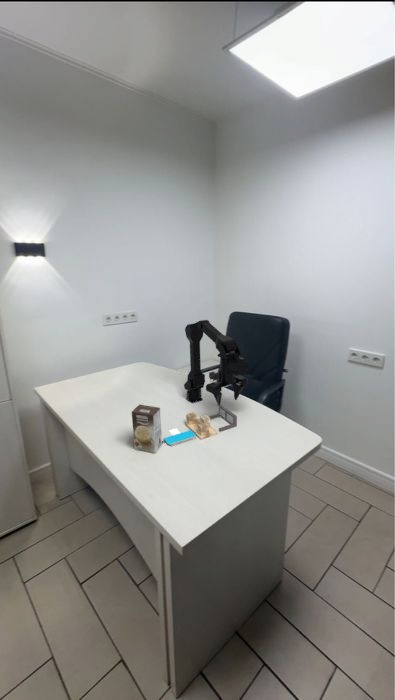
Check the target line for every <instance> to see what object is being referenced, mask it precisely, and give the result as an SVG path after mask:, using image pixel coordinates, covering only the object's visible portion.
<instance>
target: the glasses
mask: <svg viewBox="0 0 395 700" xmlns="http://www.w3.org/2000/svg"><path fill="white" fill-rule="evenodd" d="M207 416H208V417H210V420H214V419H216V418H221V419H223V420H224V421H225V422H226V423H227V424H228V425H224V426H221V427H219V428H218V431H219V432H220V433H221V432H224V431H227V430H230V429H232V428H235V427H237V426H238V422H237V421H238V420H237V419H238V415H237V414H235V413H234V412H232V411H230V409H228V408H227V407H225V406H223V405H222V404H220V406H219V405H218V413H216V414H215V413H214V414H212V415H207Z"/></svg>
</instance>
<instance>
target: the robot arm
mask: <svg viewBox="0 0 395 700" xmlns="http://www.w3.org/2000/svg"><path fill="white" fill-rule="evenodd" d="M184 333H185V336H186V339H187V340H188V341H189V360H190V365H189V366H190V371H189V372H188V374H187V380H186V382H184V384H183V386H184V390H186V400H188V402H190V403H191V404H192V403H193V404H194V403H197V402H200V401H203V400H204V399H203V398H202V389H204V387H205V391H206V392H208V393H210V394H212V395H213V397H214V399H215V401H216V404H217V406H218V407H219V406H220V405H221V402H222V396H223V392H222V389H223V388H226V387H229V386H232V387H233V399H234V400H235V401H237V400H238V398H239V396H240V395H241V393H242V391H243V390H244V388H245V387H246V386H247V385H249V384H248V383H249V382H248V381H249V380H248V378H247V377H245V375H246V374H247V373H248V372H249V369H250V366H249V363H248V362H247V361H246V358H244V357H242V352H241V350H240V347H239V346H238V343H237V341H236V339H235V338H232V337H231V336H228V335H225V334H223V333H222V332H220V330H218V329H217V328H216V327H215V326H214V325H212V323H211V322H210V320H209V319H201V320H199V321H196V322H193V323H189V324H186V326H185V328H184ZM204 334H205V335H206V336H207V337H208V338H209V339H210V340H211V341H212V342H213V343H214V344H215V349H216V350H217V351H218V352H219V353H218V354H217V357H218V358H219V359H220V363H219V364H220V365H219V366H220V369H218V371H217V372H215V371H210V372H209V373H208V377H209V380H212V381H214V382H210V383H207V384H206V385H205V383H206V375H205V373H204V372H203V371H202V369H201V368H202V367H201V366H202V365H201V340H202V339H203V337H204ZM236 374H237V375H236ZM215 381H217V382H218V383H216V382H215Z"/></svg>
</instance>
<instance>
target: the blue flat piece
mask: <svg viewBox="0 0 395 700" xmlns="http://www.w3.org/2000/svg"><path fill="white" fill-rule="evenodd" d="M168 432H169V433H170V435H169V436H167V437H163V440H162V445H163V444H166V445H168V446H170V447H174V446H177V445H181V444H184V443H187V442H190V441H194V440H195V439H196V440H197V436H196V435H195V434H194V433H193V432H192V431H191V430H190V429H189V430H186V431H183V432H180V430H179V429H178V428H177V427H176V428H172V429H169V430H168Z"/></svg>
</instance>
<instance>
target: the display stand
mask: <svg viewBox="0 0 395 700" xmlns="http://www.w3.org/2000/svg"><path fill="white" fill-rule="evenodd" d="M185 415H186V417H185V419H186V421H185V422H184V425H185V426H186V427H187V428H188V429H189V430H191V431H192V432H193V433H194V434H195V435H196V438H198V439H199V440H205V439H207V438H210V437H214V436H217V435H218V430H216V429H215V428H214V427H213V426H211V419H210V417H208V416H209V415H207V414H204V415H202V416H200V417H199V418H197V416H198V415H197V414H196V413H195V412H193V411H192V412H189V413H186V414H185Z"/></svg>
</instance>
